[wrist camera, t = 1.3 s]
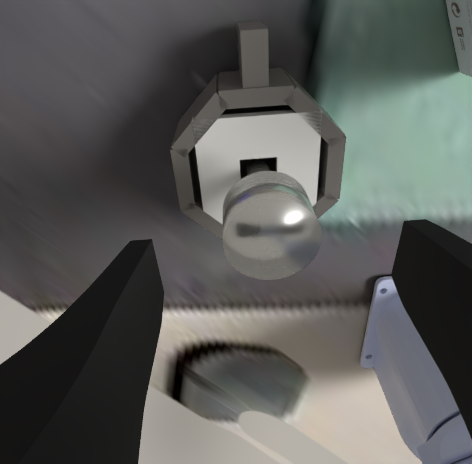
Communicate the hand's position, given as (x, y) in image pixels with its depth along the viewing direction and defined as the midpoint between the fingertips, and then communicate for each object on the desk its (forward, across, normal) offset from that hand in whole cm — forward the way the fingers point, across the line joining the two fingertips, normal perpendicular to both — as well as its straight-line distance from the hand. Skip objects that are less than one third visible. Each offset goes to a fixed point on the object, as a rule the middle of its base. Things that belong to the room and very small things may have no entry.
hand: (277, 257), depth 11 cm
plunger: (+7, 0, 0) cm, 7 cm away
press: (+10, 0, 0) cm, 10 cm away
